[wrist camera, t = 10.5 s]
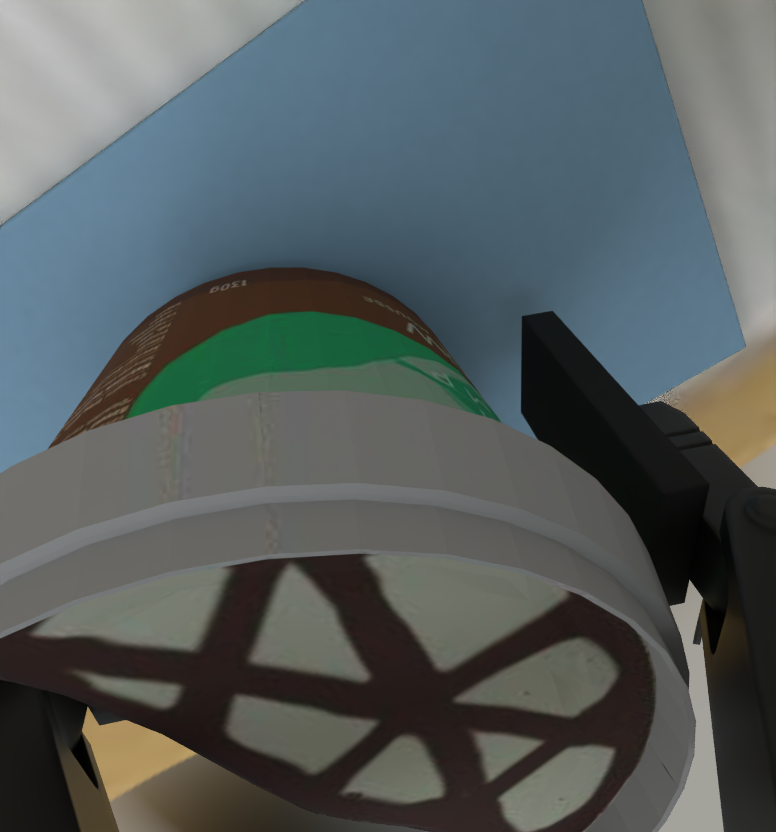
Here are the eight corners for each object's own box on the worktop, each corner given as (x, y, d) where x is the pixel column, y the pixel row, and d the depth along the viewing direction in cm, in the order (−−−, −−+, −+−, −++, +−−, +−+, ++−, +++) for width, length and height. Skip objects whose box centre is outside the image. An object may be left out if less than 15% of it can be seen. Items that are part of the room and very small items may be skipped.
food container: (593, 417, 19) (869, 754, 10) (435, 550, 20) (564, 932, 12) (243, 74, 13) (228, 208, 4) (62, 300, 14) (-198, 709, 6)
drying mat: (571, -198, 13) (582, -203, 12) (737, 339, 20) (747, 347, 20) (-168, 349, 16) (-178, 359, 16) (211, 636, 24) (210, 648, 23)
